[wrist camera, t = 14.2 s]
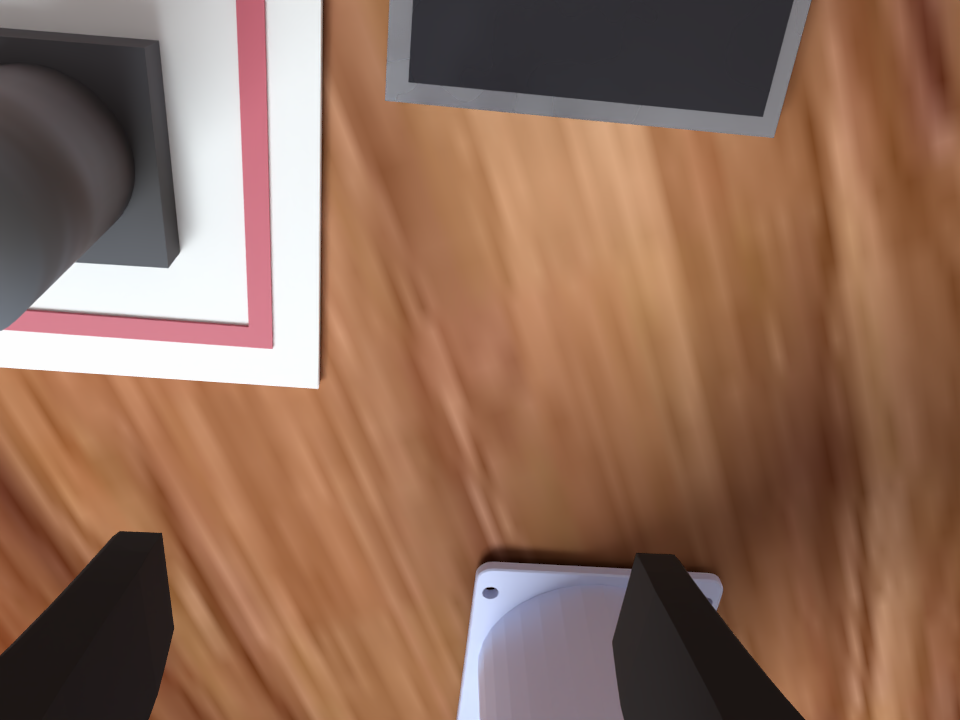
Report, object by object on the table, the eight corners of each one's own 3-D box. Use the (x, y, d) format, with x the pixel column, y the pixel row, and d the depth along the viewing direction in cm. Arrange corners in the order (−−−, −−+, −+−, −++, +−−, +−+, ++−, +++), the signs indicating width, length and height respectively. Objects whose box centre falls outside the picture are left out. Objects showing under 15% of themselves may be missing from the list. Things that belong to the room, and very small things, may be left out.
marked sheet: (319, 383, 23) (317, 390, 23) (-136, 352, 22) (-145, 359, 22) (323, -112, 17) (320, -112, 17) (-296, -184, 16) (-311, -186, 16)
